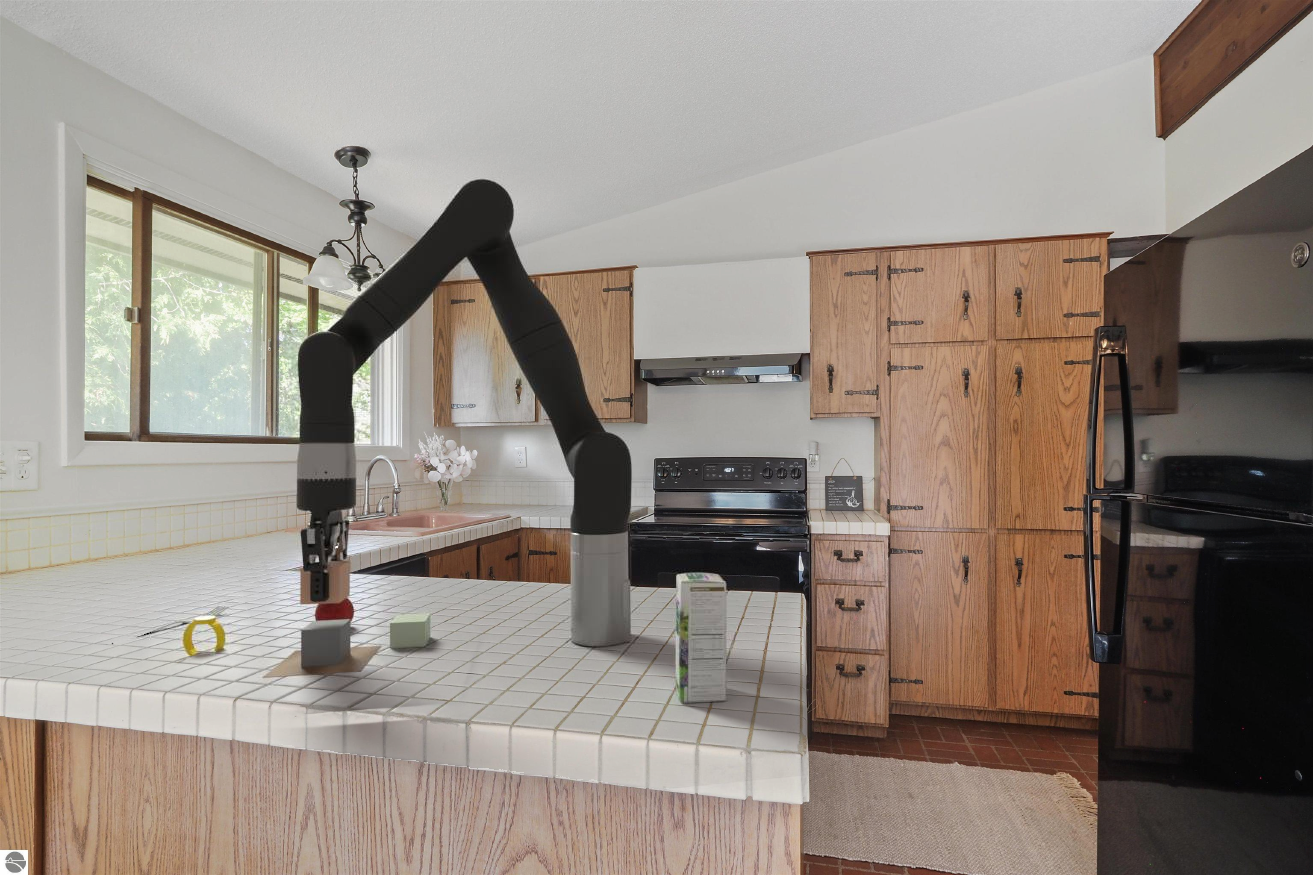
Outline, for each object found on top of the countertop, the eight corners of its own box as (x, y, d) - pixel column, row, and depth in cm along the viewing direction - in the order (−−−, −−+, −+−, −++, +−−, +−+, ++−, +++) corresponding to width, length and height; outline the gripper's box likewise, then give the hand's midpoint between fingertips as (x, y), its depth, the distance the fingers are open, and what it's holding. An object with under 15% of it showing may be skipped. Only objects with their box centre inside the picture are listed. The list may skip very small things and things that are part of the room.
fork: (81, 651, 105) (81, 639, 105) (217, 614, 128) (217, 605, 128) (97, 652, 104) (97, 641, 104) (231, 615, 128) (231, 606, 128)
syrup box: (674, 687, 85) (673, 572, 86) (720, 685, 86) (719, 571, 86) (679, 703, 79) (678, 581, 80) (729, 701, 80) (727, 580, 80)
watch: (228, 656, 101) (231, 617, 101) (213, 662, 98) (216, 621, 98) (192, 652, 102) (195, 613, 102) (177, 658, 99) (180, 617, 99)
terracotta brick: (349, 595, 97) (349, 560, 97) (339, 602, 92) (339, 566, 92) (312, 596, 96) (312, 561, 96) (300, 604, 91) (300, 567, 91)
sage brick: (430, 645, 105) (430, 613, 105) (424, 654, 100) (425, 621, 100) (396, 647, 104) (397, 614, 104) (389, 656, 99) (390, 622, 100)
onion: (338, 641, 107) (338, 591, 107) (306, 640, 108) (306, 590, 109) (361, 632, 113) (361, 584, 113) (330, 630, 114) (331, 583, 114)
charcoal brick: (350, 653, 97) (350, 619, 97) (340, 664, 92) (340, 627, 92) (313, 656, 96) (313, 620, 96) (301, 666, 91) (301, 629, 91)
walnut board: (381, 653, 101) (381, 645, 101) (360, 680, 89) (360, 671, 89) (295, 658, 99) (295, 650, 99) (262, 686, 87) (262, 677, 87)
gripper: (340, 477, 88) (339, 607, 88) (368, 473, 102) (367, 585, 102) (278, 477, 87) (277, 609, 86) (315, 474, 101) (314, 587, 100)
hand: (326, 596), depth 94 cm, fingers closed on terracotta brick, 5 cm apart
